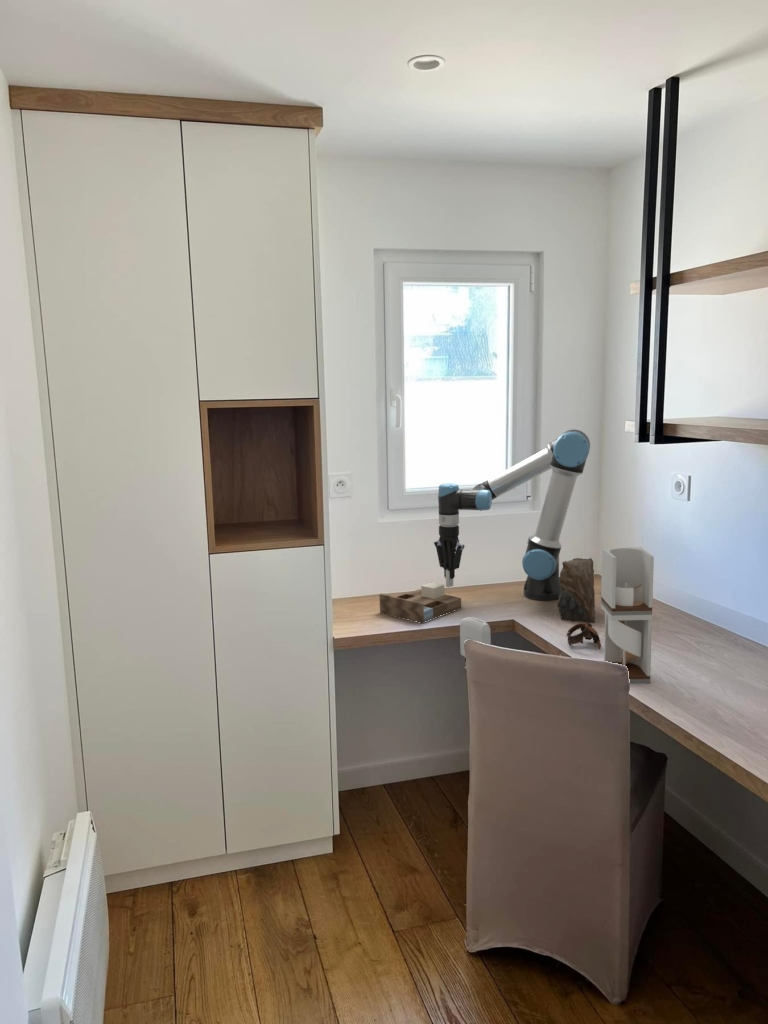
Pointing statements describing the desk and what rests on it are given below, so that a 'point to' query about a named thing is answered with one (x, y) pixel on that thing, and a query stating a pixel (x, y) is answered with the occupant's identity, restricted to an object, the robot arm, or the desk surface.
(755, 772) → the desk surface
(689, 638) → the desk surface
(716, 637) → the desk surface
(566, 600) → the brown rock
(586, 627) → the brown curved openwork arch
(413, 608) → the trap deck
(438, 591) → the cream block
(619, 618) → the curved two-tier shelf
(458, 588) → the desk surface
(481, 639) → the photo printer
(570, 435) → the robot arm
